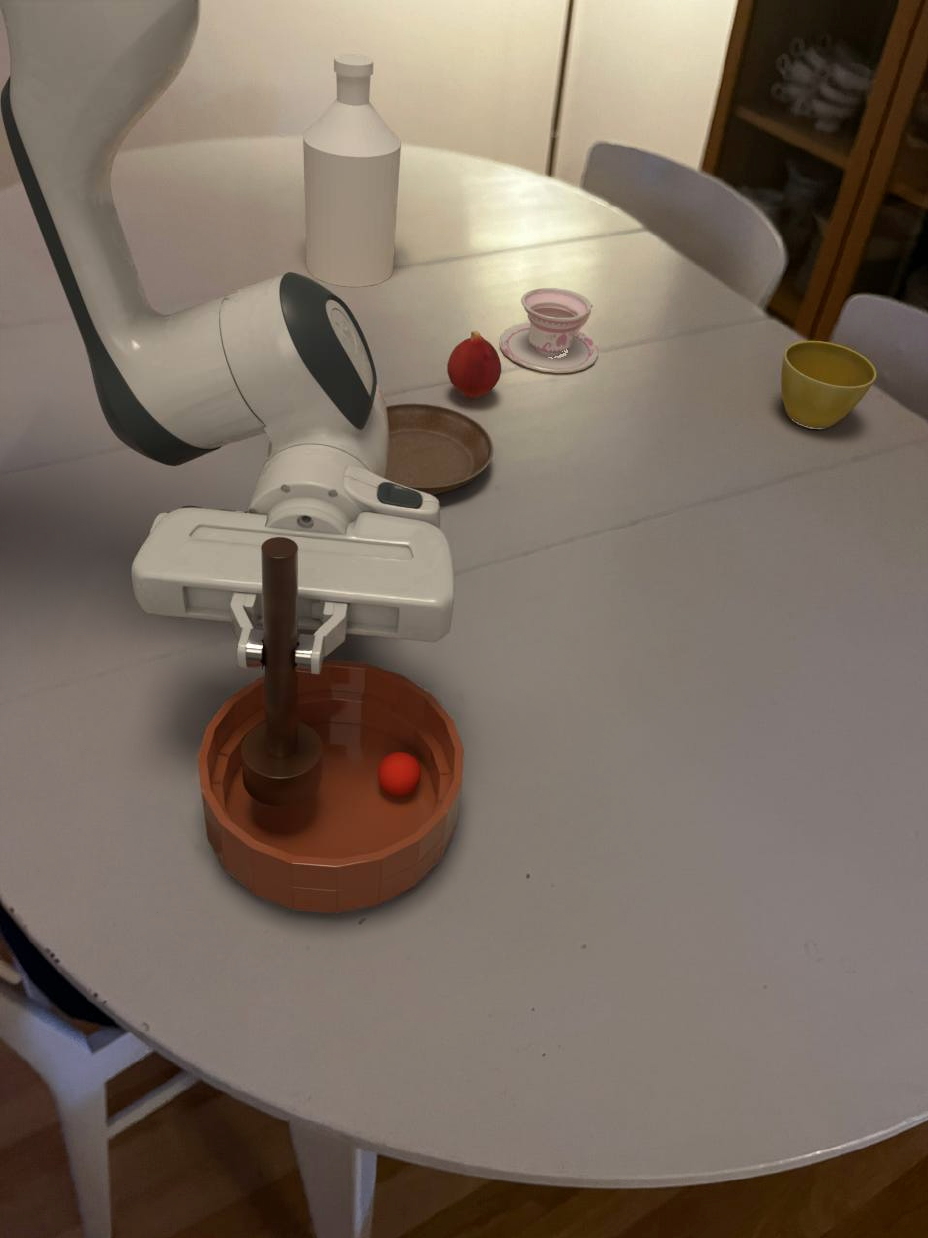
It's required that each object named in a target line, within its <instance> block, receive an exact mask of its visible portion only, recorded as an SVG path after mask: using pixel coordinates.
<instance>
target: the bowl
mask: <svg viewBox="0 0 928 1238" xmlns="http://www.w3.org/2000/svg"><path fill="white" fill-rule="evenodd" d="M298 722H301V723H304V724H306V725H308V726H309V727H311V728H312V729H313V730H314V731H315V732H316V733H317V734H318V735H319V737H320V739H321V741H322V746H323V752H322V780H321V784H320V786H319V788H318V789H317V791H316V792H315V793H314V794H313V795H312V796H311V797H310V798H308V799H307V800H305V801H303V802H301V803H299V804H296V805H292V806H285V807H276V806H270V805H266V804H263V803H261V802H258V801H257V800H255V799H254V798H253V797H251V796H250V795H249V793H248V792H247V791H246V789H245V787H244V784H243V775H242V755H241V748H242V743H243V741H244V739H245V737H246V736H247V734H248V733H249V732H250V731H251V730H253V729H254V728H255V727H257V726H259V725H261V724H263V723H266V711H265V674H264V675H262V676H259V677H257V678H255V679H254V680H252V681H251V682H250V683H248V684H247V685H246V686H244V687H243V688H241V689H240V690H239V691H237V692H236V693H234V694H233V695H231V696H230V697H229V698H228V699H226V700H225V702H224V703H223V705H222V706H221V708H220V709H219V710H218V712H217V713H216V714H215V715H214V717H213V718H212V719H211V721H210V722H209V723H208V725H207V726H206V728H205V732H204V735H203V739H202V742H201V746H200V749H199V752H198V755H197V759H196V760H197V767H198V776H199V782H200V783H199V784H200V793H201V799H202V800H201V801H202V808H203V815H204V822H205V830H206V838H207V841H208V843H209V844H210V846H211V848H212V850H213V852H214V854H215V855H216V857H217V859H218V860H219V862H220V864H221V866H222V868H223V870H225V871H226V872H227V873H228V874H230V875H231V876H232V877H233V878H234V879H235V880H237V881H238V882H239V883H240V884H241V885H242V886H244V887H245V888H246V889H247V890H249V891H250V892H251V893H252V894H254V895H255V896H258V897H261V898H263V899H265V900H267V901H271V902H273V903H276V904H278V905H280V906H283V907H286V908H289V909H291V910H294V911H304V912H315V913H325V914H326V913H329V914H338V913H344V912H348V911H349V912H350V911H353V910H359V909H363V908H370V907H374V906H378V905H381V904H383V903H385V902H386V901H389V900H391V899H392V898H394V897H397V896H398V895H400V894H403V893H404V892H406V891H408V890H410V889H411V888H414V887H415V886H416V885H418V883H419V882H420V881H422V879H423V878H424V877H425V876H426V875H427V874H428V873H429V872H430V871H431V870H432V869H433V868H434V867H435V866H436V865H437V864H438V863H439V862H440V861H441V860H442V858H443V856H444V853H445V852H446V850H447V848H448V845H449V843H450V840H451V838H452V836H453V834H454V832H455V830H456V825H457V819H458V812H459V806H460V798H461V794H462V793H461V792H462V785H463V772H464V751H465V750H464V747H463V744H462V741H461V739H460V738H461V737H460V736H459V732H458V730H457V727H456V725H455V722H454V720H453V718H452V717H451V716H450V715H449V713H448V712H447V711H446V710H445V708H444V707H443V706H442V705H441V704H440V703H439V701H438V700H437V699H436V698H435V697H434V695H433V694H432V693H430V692H429V691H427V690H426V689H425V688H423V687H421V686H420V685H418V684H417V683H415V682H413V680H410V679H409V678H408V677H406V676H405V675H402V674H400V673H397V672H394V671H391V670H389V669H385V668H383V667H379V666H376V665H373V664H371V663H367V662H366V663H365V662H355V661H345V660H333V659H330V660H329V659H325V660H323V661H322V666H321V672H320V674H312V673H311V674H310V673H300V672H298ZM395 752H404V753H408V754H410V755H411V756H413V757H414V758H415V759H416V760H417V762H418V763H419V766H420V769H421V778H420V781H419V783H418V785H417V787H416V788H415V789H414V790H413V791H411V792H410V793H408V794H405V795H393V794H391V793H389V792H387V791H386V790H385V789H384V788H383V787H382V786H381V784H380V782H379V779H378V769H379V766H380V764H381V762H382V760H383V759H384V758H385V757H386V756H388V755H390V754H392V753H395Z"/></svg>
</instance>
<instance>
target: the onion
mask: <svg viewBox="0 0 928 1238" xmlns="http://www.w3.org/2000/svg"><path fill="white" fill-rule="evenodd" d="M446 367H447V368H446V369H447V370H446V372H447V376H448V378H449V381H450V383H451V384H452V386H454V388H455V389H456V390H458V392H459V393H460V394H462V395H463V396H464V398H466V399H468V400H475V399H478V398H481V397H483V396H484V395H487V394H488V393H490V392H491V391H493V390H494V389H495V386H496V385H497V384H498V383H499V380H500V378H501V374H502V363H501V359H500V355H499V353H498V351H497V350H496V348H495V347H494V346H493V344H492V343H491V342H490V341H488V340H486V339H485V338H484V337H483V336H482V335H481V333H480V332H479V331H478V330H474V331H471V333H470V337H468V338H466V339H464V340H463V341H461V342H459V344H457V345H456V346H455V347H454V348H453V350H452V351H451V353H450V355H449V358H448V360H447V365H446Z"/></svg>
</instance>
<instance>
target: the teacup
mask: <svg viewBox="0 0 928 1238" xmlns="http://www.w3.org/2000/svg"><path fill="white" fill-rule="evenodd" d="M520 303H521V305H522V306H523V308H524V311H525V312H526V313H527V319H528V321H529V322H524V323H520V324H515V325H513V326H510V327H509V328H507V329H505V330H504V331H503V332H502V334H501V335H500V336H499V348H500V349H501V351H502V353H503V355H505V356H506V357H507V358H508V359H510V360H511V361H512V362H514V363H516V364H518V365H520V366H523V367H524V368H528V369H531V370H535V371H539V372H544V373H552V374H553V373H554V374H567V373H575V372H579V371H582V370H586V369H588V368H589V367H591V366H593V365H594V363H595V362H596V360H597V359H598V356H599V352H598V351H599V350H598V347H597V345H596V344H595V342H594V341H593V340H592V339H591V338H590V337H589V336H587V335H586V334H585V333H583V332H581V331H580V330H581V329H582V328H583V327H584V326H585V324H586V323H587V322H588V320H589V318H590V316H591V312H592V311H591V309H592V308H593V306H594V305H593V304H592V303H591V301H590V300H589V298H587V297H586V296H584V295H582V293H581V294H580V293H578V292H576V291H573V290H569V289H563V288H554V287H543V288H536V289H533V290H529V291H527V292H525V293H524V294H523V295H522V297H521V299H520ZM566 349H567V350H568V353H566V354H567V355H566V356H564V357H561V358H557V357H556V358H554V357H555V356H559V355H560V354H563V353H565V352H564V350H565V351H566ZM562 351H563V352H562ZM548 357H552V358H553V359H551V358H548Z"/></svg>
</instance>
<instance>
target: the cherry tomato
mask: <svg viewBox="0 0 928 1238" xmlns="http://www.w3.org/2000/svg"><path fill="white" fill-rule="evenodd" d="M420 778H421V769H420V766H419V763H418V762H417V760H416V759H415V758H414V757H413V756H411V755H410V754H408V753H404V752H395V753H392V754H390V755H388V756H386V757H385V758H384V759H383V760H382V762H381V764H380V766H379V769H378V779H379V782H380V784H381V786H382V787H383V788H384V789H385V790H386V791H387V792H389V793H391V794H393V795H405V794H408V793H410V792H411V791H413V790H414V789H415V788H416V787H417V785H418V783H419V781H420Z"/></svg>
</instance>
